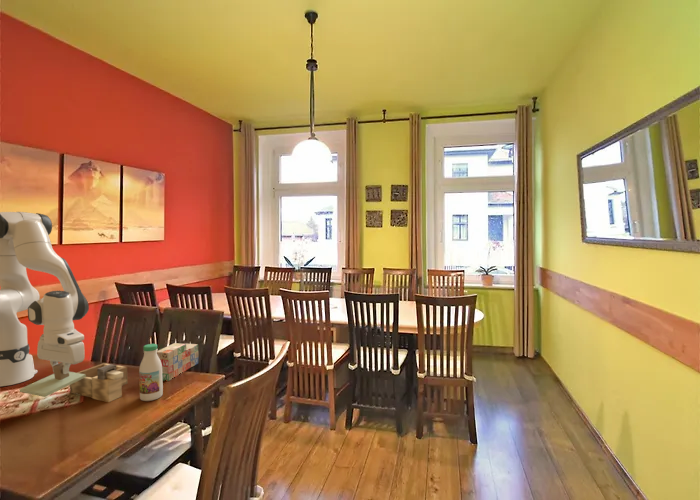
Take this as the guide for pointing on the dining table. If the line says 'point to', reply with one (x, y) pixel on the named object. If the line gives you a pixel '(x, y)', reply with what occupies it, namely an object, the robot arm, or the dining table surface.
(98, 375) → the wooden cabinet
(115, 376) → the wooden block
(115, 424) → the dining table surface
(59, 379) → the lid
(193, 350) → the stack of blocks
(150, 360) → the milk bottle
